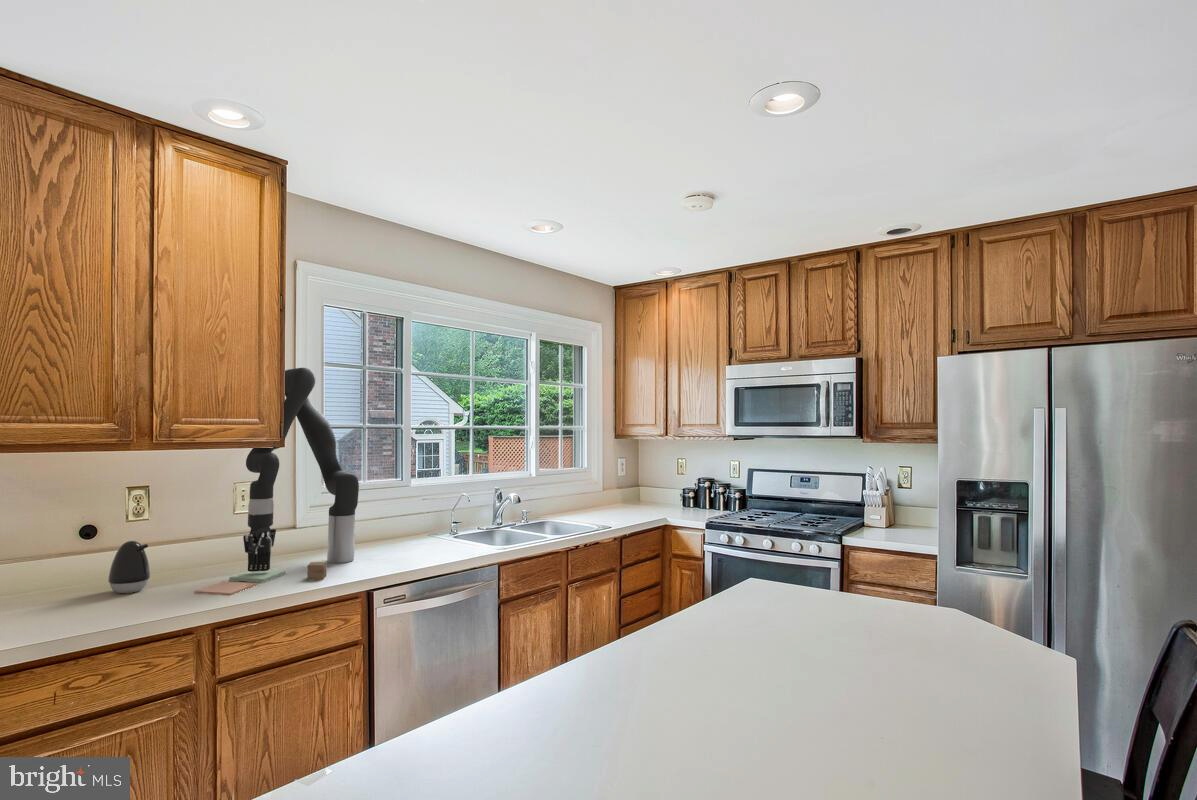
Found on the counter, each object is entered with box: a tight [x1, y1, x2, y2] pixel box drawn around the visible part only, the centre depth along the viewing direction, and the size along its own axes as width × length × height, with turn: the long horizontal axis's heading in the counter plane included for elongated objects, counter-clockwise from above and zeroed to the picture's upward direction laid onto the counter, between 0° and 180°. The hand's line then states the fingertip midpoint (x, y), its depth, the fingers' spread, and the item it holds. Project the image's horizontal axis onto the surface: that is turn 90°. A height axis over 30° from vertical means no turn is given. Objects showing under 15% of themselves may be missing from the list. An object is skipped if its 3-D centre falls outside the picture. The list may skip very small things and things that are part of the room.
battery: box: [247, 536, 272, 572], centre depth 213 cm, size 7×4×11 cm, turn 108°
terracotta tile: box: [194, 580, 258, 596], centre depth 198 cm, size 12×12×1 cm
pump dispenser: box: [107, 540, 151, 594], centre depth 194 cm, size 10×10×15 cm
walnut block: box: [306, 561, 328, 581], centre depth 214 cm, size 5×5×5 cm
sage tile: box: [228, 569, 287, 583], centre depth 213 cm, size 12×12×1 cm
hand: (259, 562), depth 213 cm, fingers closed on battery, 5 cm apart
